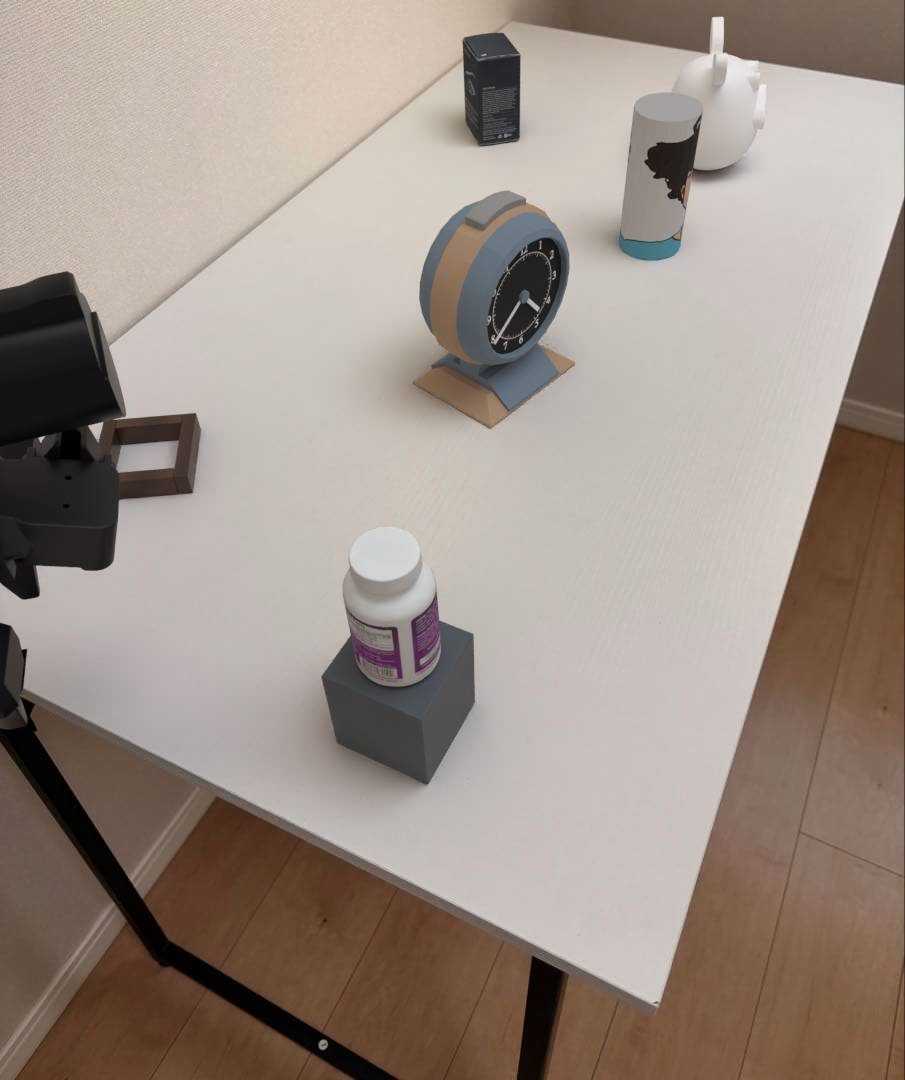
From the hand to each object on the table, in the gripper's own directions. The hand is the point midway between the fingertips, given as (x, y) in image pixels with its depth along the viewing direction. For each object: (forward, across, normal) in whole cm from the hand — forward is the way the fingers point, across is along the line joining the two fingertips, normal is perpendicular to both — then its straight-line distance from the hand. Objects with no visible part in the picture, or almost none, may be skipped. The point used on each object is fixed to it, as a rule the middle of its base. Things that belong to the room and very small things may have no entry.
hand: (25, 657), depth 54 cm
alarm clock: (+12, +33, -36) cm, 51 cm away
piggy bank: (+12, +67, -72) cm, 99 cm away
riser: (+12, -2, -21) cm, 24 cm away
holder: (+12, +29, -4) cm, 31 cm away
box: (+12, +83, -48) cm, 97 cm away
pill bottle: (+4, -2, -21) cm, 22 cm away
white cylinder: (+12, +52, -58) cm, 79 cm away
